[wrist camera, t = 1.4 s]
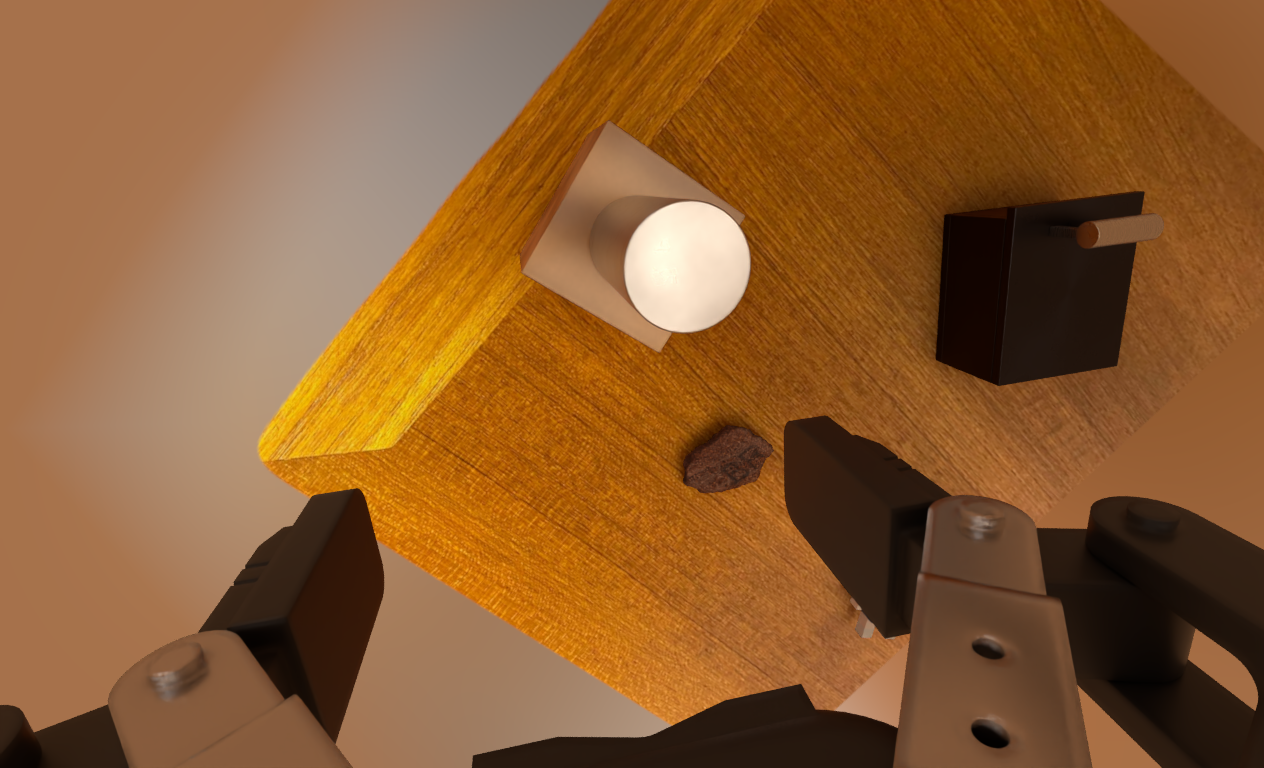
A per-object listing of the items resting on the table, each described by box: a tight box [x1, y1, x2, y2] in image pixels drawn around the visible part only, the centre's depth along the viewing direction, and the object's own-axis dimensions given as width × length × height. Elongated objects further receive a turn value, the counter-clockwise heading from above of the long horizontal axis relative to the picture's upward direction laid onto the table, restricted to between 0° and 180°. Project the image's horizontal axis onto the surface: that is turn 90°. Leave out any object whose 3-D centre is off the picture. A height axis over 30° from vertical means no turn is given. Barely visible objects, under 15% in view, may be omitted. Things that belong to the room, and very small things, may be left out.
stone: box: [683, 425, 774, 493], centre depth 53 cm, size 7×7×3 cm
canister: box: [590, 195, 751, 333], centre depth 32 cm, size 6×6×12 cm
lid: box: [992, 191, 1164, 386], centre depth 45 cm, size 13×11×5 cm
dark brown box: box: [936, 201, 1054, 383], centre depth 51 cm, size 13×11×7 cm
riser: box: [520, 120, 745, 353], centre depth 42 cm, size 10×10×10 cm
